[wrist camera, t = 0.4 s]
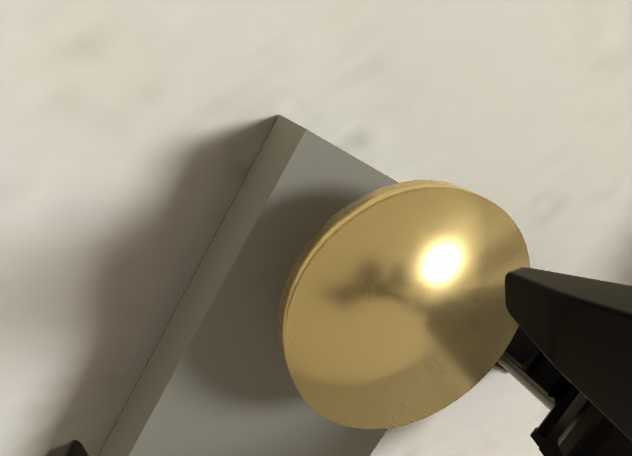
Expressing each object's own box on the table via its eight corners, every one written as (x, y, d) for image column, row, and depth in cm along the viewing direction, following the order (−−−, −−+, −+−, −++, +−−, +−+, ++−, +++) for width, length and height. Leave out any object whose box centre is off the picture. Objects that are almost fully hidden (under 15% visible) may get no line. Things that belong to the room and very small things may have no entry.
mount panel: (458, 218, 25) (508, 246, 21) (260, 531, 29) (274, 598, 26) (278, 114, 20) (306, 129, 16) (65, 517, 24) (50, 599, 20)
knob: (493, 213, 22) (572, 253, 18) (388, 376, 23) (438, 446, 19) (331, 114, 17) (388, 135, 13) (216, 324, 19) (233, 401, 15)
